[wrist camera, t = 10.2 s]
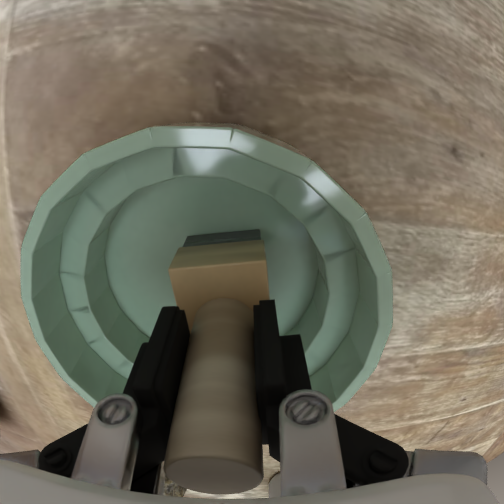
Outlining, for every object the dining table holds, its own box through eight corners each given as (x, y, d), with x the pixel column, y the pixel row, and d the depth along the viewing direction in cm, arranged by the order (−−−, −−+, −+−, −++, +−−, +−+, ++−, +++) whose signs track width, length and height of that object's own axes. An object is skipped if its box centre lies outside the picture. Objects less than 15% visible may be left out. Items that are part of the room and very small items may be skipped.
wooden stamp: (184, 233, 14) (103, 417, 5) (262, 226, 14) (285, 419, 5) (202, 324, 16) (172, 506, 7) (270, 318, 16) (287, 506, 7)
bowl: (181, 60, 12) (141, 30, 7) (403, 254, 15) (455, 312, 10) (46, 282, 16) (-4, 336, 11) (233, 402, 20) (230, 472, 15)
